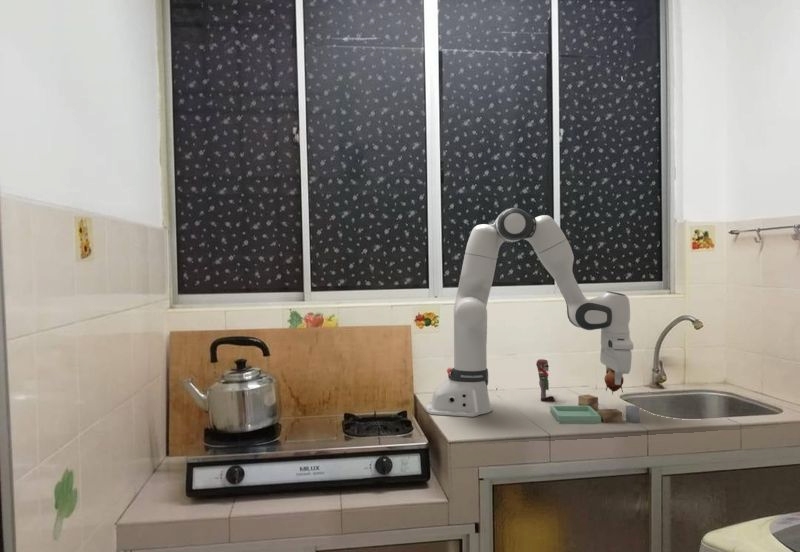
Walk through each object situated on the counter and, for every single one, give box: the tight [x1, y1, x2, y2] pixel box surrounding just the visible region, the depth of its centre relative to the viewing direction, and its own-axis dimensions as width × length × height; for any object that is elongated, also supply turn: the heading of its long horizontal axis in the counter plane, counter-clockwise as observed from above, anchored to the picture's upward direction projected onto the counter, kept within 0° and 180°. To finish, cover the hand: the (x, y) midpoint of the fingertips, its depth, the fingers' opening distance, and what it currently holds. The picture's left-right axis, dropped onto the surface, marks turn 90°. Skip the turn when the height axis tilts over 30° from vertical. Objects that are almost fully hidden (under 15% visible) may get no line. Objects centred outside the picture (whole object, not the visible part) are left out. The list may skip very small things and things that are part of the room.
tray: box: [549, 404, 602, 424], centre depth 176 cm, size 13×13×2 cm
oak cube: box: [577, 394, 599, 412], centre depth 185 cm, size 4×4×4 cm
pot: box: [604, 369, 625, 395], centre depth 180 cm, size 6×8×6 cm
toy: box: [536, 358, 556, 403], centre depth 198 cm, size 18×6×15 cm, turn 168°
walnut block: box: [597, 408, 623, 424], centre depth 171 cm, size 6×4×4 cm, turn 96°
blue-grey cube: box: [625, 405, 641, 424], centre depth 170 cm, size 4×4×4 cm
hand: (613, 382), depth 180 cm, fingers closed on pot, 6 cm apart
